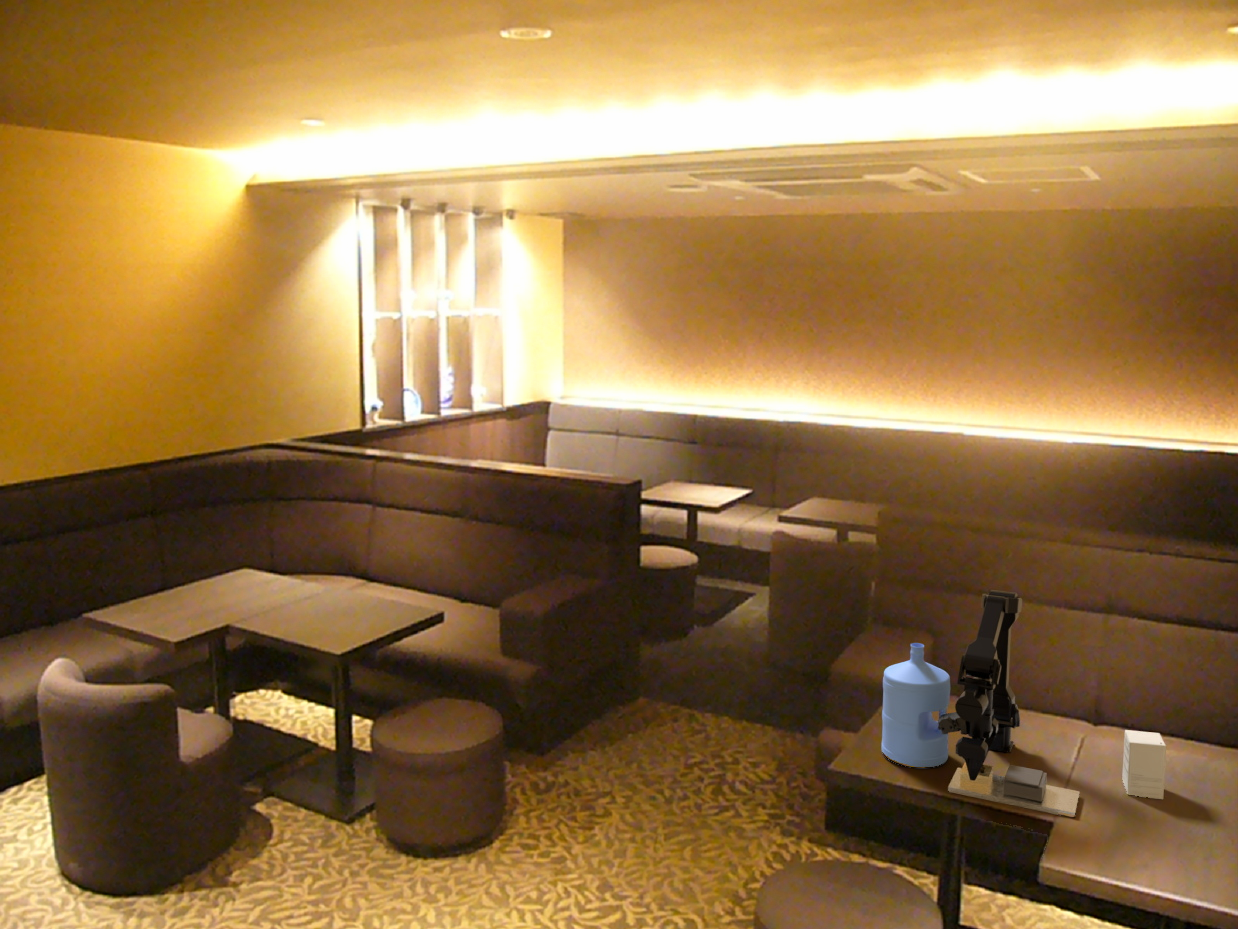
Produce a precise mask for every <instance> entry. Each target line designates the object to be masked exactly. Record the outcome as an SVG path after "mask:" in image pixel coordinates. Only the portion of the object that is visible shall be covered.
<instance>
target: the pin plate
mask: <svg viewBox="0 0 1238 929" xmlns="http://www.w3.org/2000/svg"><path fill="white" fill-rule="evenodd" d="M961 769H962V767H957V768H956V770H955V772H954V773H953V776H952V779H950V783H949V784H948V786H947V792H948V791H949V792H948V793H952V794H953V793H954V794H958V795H963V796H965V797H966V796H967V797H972V798H976V799H980V800H985V801H986V800H987V801H991V802H995V803H1000V804H1005V805H1009V806H1014V807H1017V808H1018V807H1019V808H1023V809H1029V810H1033V811H1039V812H1042V813H1048V814H1052V815H1058V814H1059V813H1061V812H1062V813H1066V814H1071V815H1075V813H1076V814H1077V810H1076V808H1077V809H1078V806H1077V803H1078V804H1079V801H1078V798H1079V799H1080V795H1079V794H1081V793H1080V792H1081V791H1078V790H1074V789H1068V788H1064V787H1059V786H1053V785H1049V784H1046V789H1045V792H1044V796H1043V799H1042V802H1041V801H1036V800H1031V799H1026V798H1022V797H1017V796H1012V795H1007V794H1004V778H1005V775H1004V776H1003V775H997V774H993V776H992V781H991V784H990V786H989V789H988V790H987V789H982V788H977V787H972V786H967V785H962V784H960V773H961ZM980 772H981V769H980V771H979V773H980ZM1058 816H1059V815H1058ZM1075 816H1076V815H1075Z"/></svg>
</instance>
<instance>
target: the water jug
mask: <svg viewBox="0 0 1238 929" xmlns="http://www.w3.org/2000/svg"><path fill="white" fill-rule="evenodd" d="M924 648H925V645H924V644H923V643H919V642H913V643H910V652H909V653H910V658H909V660H906V661H902V662H899V663H895V664H892V665H889V666H888V667H886V668H885V669H884V671H883V678H882V689H883V690H882V691H883V693H882V694H883V695H882V712H881V718H882V720H881V721H882V733H881V737H882V738H881V753H882V752H883V753H884V754H885V755H886V756H888V757H889V758H890V759H892V760H895V761H897V762H899V763H903V764H907V765H909V766H914V767H933V768H935V767H934V766H937V767H939V765H940V766H942V765H944V764H945V763H946V762H947V760H948V759H949V733H947V734H942V732H941V730H939V729H938V726H939V724H938V720H935V719H934V717H933V713H934V712H938V718H939V717H940V716H941V715H943V714H947V713H948V711H947V710H948V707H949V705H950V695H951V677H950V675H949V673H948V672H947V671H945V670H944V669H942V668H939V667H937V666H935V665H934V664H931V663H929V662H926V661H925V659H924V655H925V651H924ZM883 753H882V754H883ZM941 764H942V765H941Z"/></svg>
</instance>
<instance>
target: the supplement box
mask: <svg viewBox="0 0 1238 929" xmlns="http://www.w3.org/2000/svg"><path fill="white" fill-rule="evenodd" d="M1123 737H1124V741H1123V760H1122V761H1123V762H1122V776H1121V777H1122V780H1123V781H1122V780H1121V781H1122V784H1123V783H1124V784H1123V786H1125V787H1124V789H1126V790H1125V792H1126V791H1127V792H1126V795H1127V794H1129V795H1135V796H1134V797H1137V796H1139V797H1138V798H1146V797H1148V798H1149V799H1156V800H1164V796H1165V795H1164V794H1165V792H1164V790H1165V776H1166V761H1167V760H1166V758H1167V744H1166V743H1165V742H1164V741H1165V740H1164V739H1163V737H1162V735H1161V733H1160V732H1149V731H1142V730H1141V731H1139V730H1131V729H1130V730H1128V729H1124V736H1123Z"/></svg>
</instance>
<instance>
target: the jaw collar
mask: <svg viewBox="0 0 1238 929" xmlns="http://www.w3.org/2000/svg"><path fill="white" fill-rule="evenodd" d="M961 768H962V769H961V773H960V784H962V785H967V786H972V787H977V788H982V789H987V790H988V789H989V786H990V784H991V781H992V776H993V775H994V774H993V773H994V772H993V771H994V770H993V769H994V766H993V765H989V764H988V765H987V764H983V765H982V767H981V772H980V773H978V776H977V778H976V780H975V781H973V780H970V778H969V774H968V770H967V766H966V762H965V761H964V763H963V766H962V767H961Z"/></svg>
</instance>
